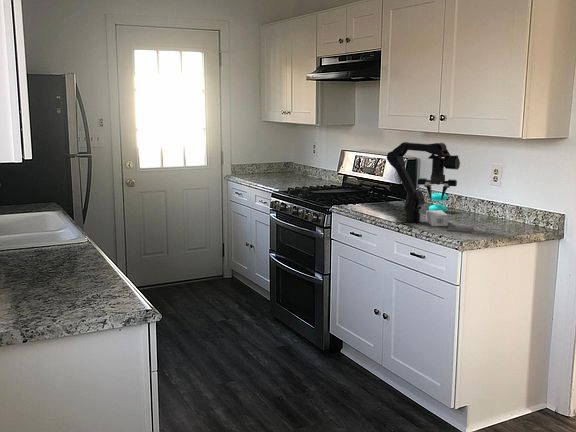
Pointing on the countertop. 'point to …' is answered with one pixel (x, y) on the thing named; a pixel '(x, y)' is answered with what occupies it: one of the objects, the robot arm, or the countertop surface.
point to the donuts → (438, 198)
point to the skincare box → (437, 218)
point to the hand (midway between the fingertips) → (436, 199)
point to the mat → (460, 228)
